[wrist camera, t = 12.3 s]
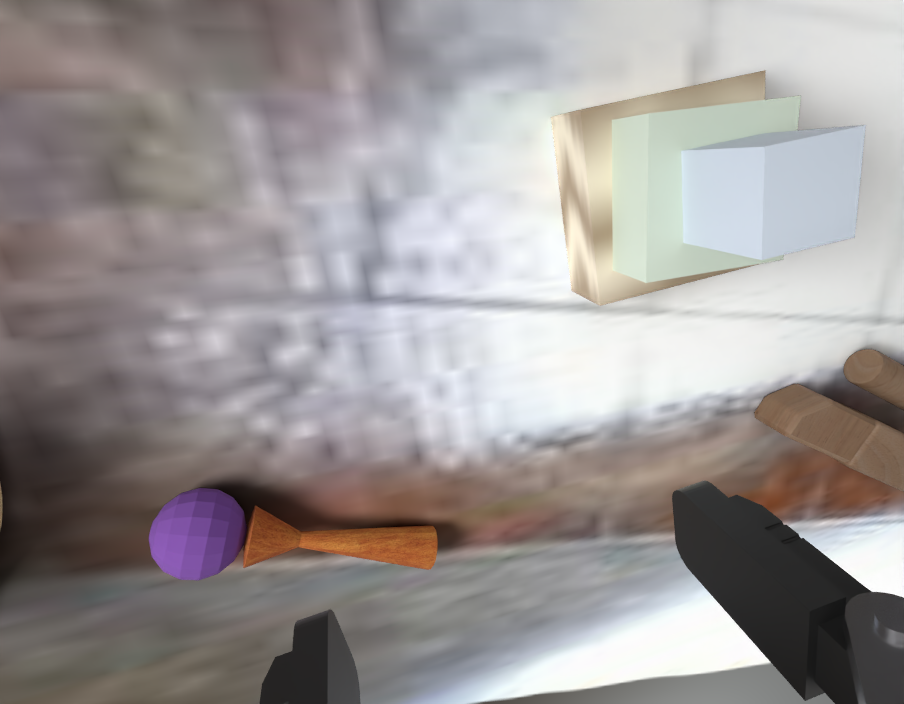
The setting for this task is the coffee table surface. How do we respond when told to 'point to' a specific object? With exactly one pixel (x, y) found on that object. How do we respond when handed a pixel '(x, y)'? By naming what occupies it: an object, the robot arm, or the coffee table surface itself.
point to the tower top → (676, 183)
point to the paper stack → (0, 506)
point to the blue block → (773, 191)
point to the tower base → (590, 182)
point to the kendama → (266, 537)
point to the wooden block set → (846, 419)
